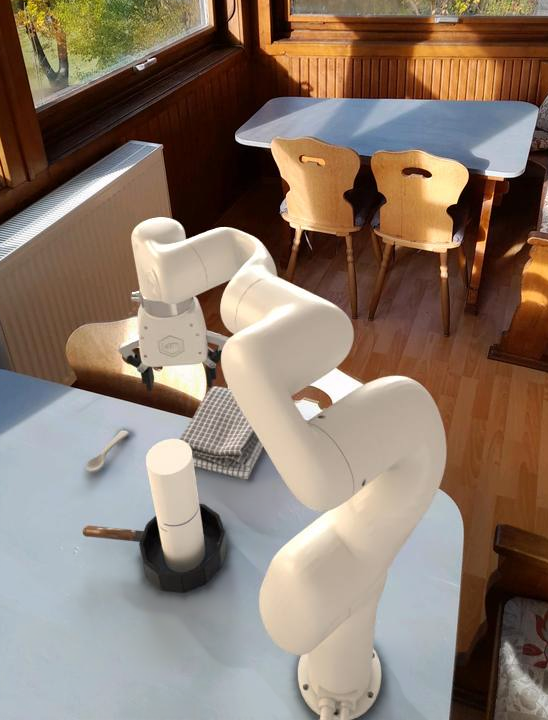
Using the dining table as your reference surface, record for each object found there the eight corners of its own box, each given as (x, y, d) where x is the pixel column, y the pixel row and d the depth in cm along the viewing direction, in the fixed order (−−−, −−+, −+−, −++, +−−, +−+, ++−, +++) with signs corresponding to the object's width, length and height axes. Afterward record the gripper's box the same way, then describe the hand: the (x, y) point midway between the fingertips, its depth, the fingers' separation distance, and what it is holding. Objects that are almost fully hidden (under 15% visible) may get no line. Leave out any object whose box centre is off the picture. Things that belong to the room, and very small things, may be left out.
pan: (214, 596, 111) (212, 580, 109) (69, 580, 113) (64, 564, 111) (233, 522, 123) (231, 506, 121) (102, 509, 125) (98, 493, 123)
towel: (278, 418, 145) (277, 391, 141) (246, 484, 130) (244, 457, 126) (215, 403, 149) (212, 377, 145) (176, 466, 134) (172, 439, 130)
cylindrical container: (196, 576, 114) (181, 478, 101) (157, 567, 115) (137, 470, 102) (211, 539, 120) (198, 442, 107) (174, 532, 121) (157, 435, 108)
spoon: (83, 473, 132) (82, 465, 131) (120, 433, 142) (119, 426, 141) (95, 477, 131) (94, 470, 130) (132, 437, 141) (131, 430, 140)
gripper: (104, 315, 96) (122, 403, 104) (224, 309, 97) (233, 396, 106) (113, 286, 102) (130, 371, 111) (226, 280, 104) (234, 365, 112)
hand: (180, 383), depth 108 cm, fingers open, 9 cm apart
